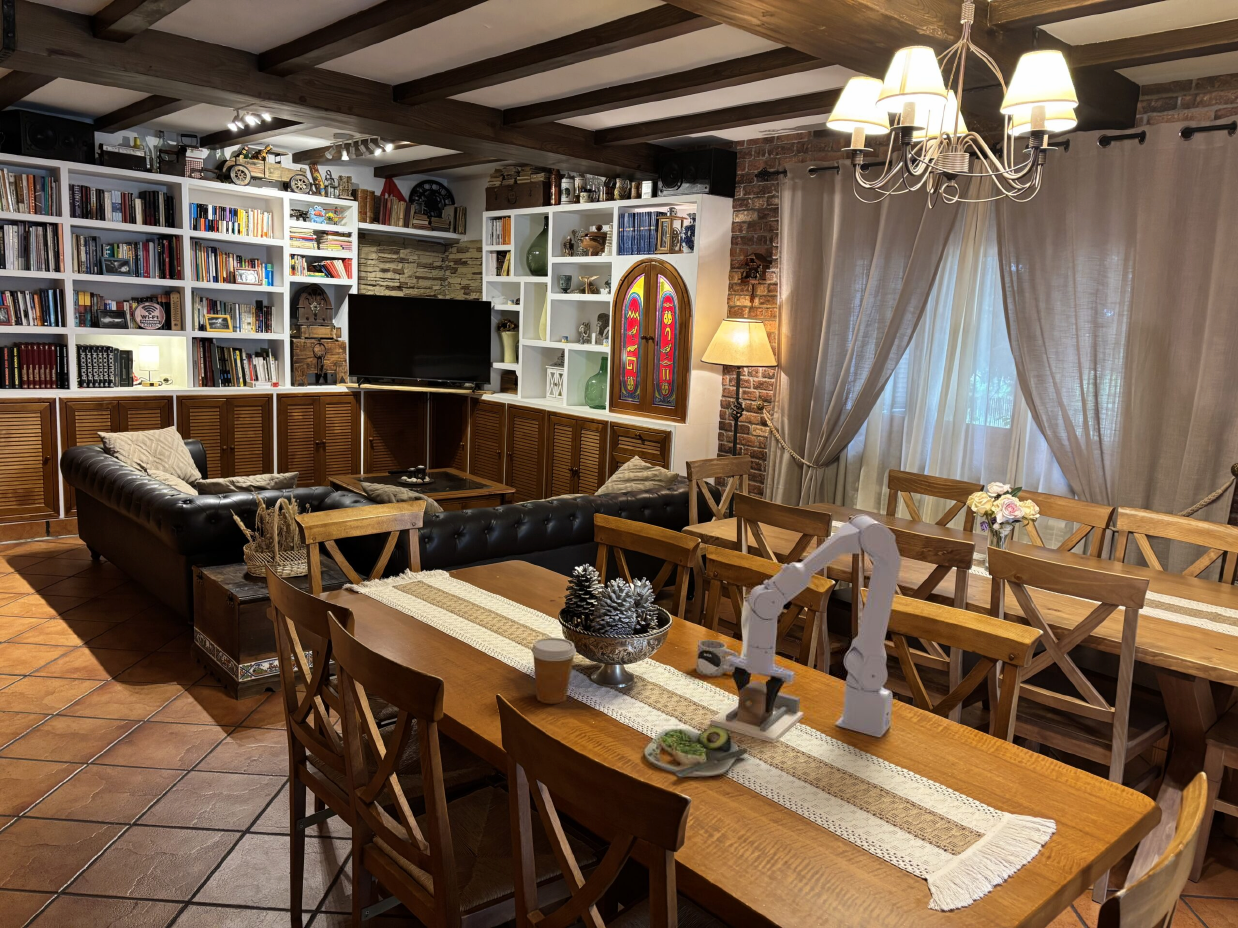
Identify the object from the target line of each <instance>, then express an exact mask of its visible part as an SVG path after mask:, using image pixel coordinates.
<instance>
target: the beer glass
mask: <svg viewBox="0 0 1238 928" xmlns="http://www.w3.org/2000/svg"><path fill="white" fill-rule="evenodd" d="M751 609H752V608H751V607H750V605H749V604H748V600H747V598H744V599H743V604H742V609H741V619H740V620H741V623H740V624H741V633H742V634H741V635H742V648H741V652H740V656H739V658H746V655H747V642H748V629H749V621H750V611H751Z"/></svg>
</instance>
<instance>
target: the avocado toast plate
mask: <svg viewBox="0 0 1238 928" xmlns="http://www.w3.org/2000/svg"><path fill="white" fill-rule="evenodd" d="M727 730H728V729H725V728H721V727H718V726H710V727H708V728H704V731H702V732H696V731H695V730H694V731H693V730H690V729H686V728H669V729H665V730H662V731H660V732H658V733H657V734H656V735H655V737H654V738H653V739H652V740H651V741H650V743H648V744H647V746H646V747H645V748H644V750H643V751H644V752H643V753H644V757H645V758H646V759H647V761H648V762H650V763H651V764H652V765H654V767H657V768H658V769H660V770H662V771H664V772H665V771H666V772H669V773H671V774H674V775H675V776H676V777H678V778H679V777H680V778H685V777H687V778H689V777H691V778H698V777H701V778H702V777H712V776H720V775H723V774H724V773H726V772H727V771H728V770H729V769H730V768H731V766H732V765H733V763H734V762H736V760H737V759H739V758H741V757H742V756H744V755H745V754H747V753H749V751H748V748H745V747H744V748H743V747H742V748H739V746H738V745H737V744H736V743H735V742H733V741H731V736H730V734H729V732H728V731H727ZM662 749H663V750H664V751H665V752H667V753H669V754H671V755H673V757H674V759H675V761H674V763H667V762H664V761H662V760H661V758H660V752H661V750H662Z"/></svg>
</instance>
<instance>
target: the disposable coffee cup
mask: <svg viewBox="0 0 1238 928" xmlns="http://www.w3.org/2000/svg"><path fill="white" fill-rule="evenodd" d="M531 653H532V656H533V667H534V680H535V690H536V691H535V692H536V699H537V701H539V702H542V703H544V704H550V705H551V704H560V703H563V702H564V701H566V699H567V694H568V688H569V683H570V679H571V673H572V667H573V661H574V657H575V654H576V653H577V649H576V648H575V643H574V642H573V641H571V640H568V639H565V638H561V637H559V638H558V637H544V638H543V637H542V638H540V639H537V640H535V641H534V643H533V645H532V647H531Z"/></svg>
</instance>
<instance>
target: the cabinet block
mask: <svg viewBox="0 0 1238 928" xmlns="http://www.w3.org/2000/svg"><path fill="white" fill-rule="evenodd" d="M766 698H767V692H766V683H763V682H759V681H756V680H752V681H751V682H749V684H748V685H746V686H745V687H743V688H742V689H741V690H739V693H738V699H739V701H738V714H737V721H740V722H743V723H747V724H750V725H754V726H757V727H760V725H761V724H762V723H764V722H765V721H766V720H767V719H768V718H770V717H771V716H772V715H773V709H772V711H771V712H769V713H767V712H766ZM773 707H774V705H773Z"/></svg>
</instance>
